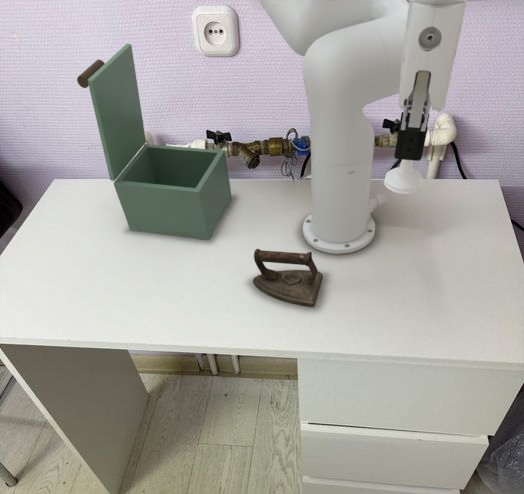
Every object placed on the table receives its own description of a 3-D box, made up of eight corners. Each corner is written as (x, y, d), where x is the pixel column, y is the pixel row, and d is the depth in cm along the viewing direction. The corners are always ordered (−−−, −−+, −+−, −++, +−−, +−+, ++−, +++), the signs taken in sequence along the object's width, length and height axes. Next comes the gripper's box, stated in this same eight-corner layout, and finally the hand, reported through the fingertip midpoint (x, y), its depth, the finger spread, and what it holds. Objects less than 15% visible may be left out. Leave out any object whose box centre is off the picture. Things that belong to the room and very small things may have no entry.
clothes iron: (319, 310, 77) (301, 265, 69) (253, 311, 82) (230, 270, 74) (327, 276, 80) (311, 230, 73) (263, 279, 85) (242, 236, 78)
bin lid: (131, 44, 79) (102, 38, 79) (92, 80, 71) (60, 74, 72) (146, 142, 92) (121, 136, 93) (114, 181, 85) (87, 175, 85)
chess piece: (400, 198, 63) (414, 122, 55) (376, 179, 65) (386, 104, 57) (430, 185, 64) (448, 109, 56) (406, 167, 66) (420, 91, 58)
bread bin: (232, 198, 97) (224, 150, 89) (209, 240, 89) (198, 192, 81) (158, 190, 101) (144, 143, 93) (130, 230, 93) (113, 183, 85)
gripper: (483, 6, 41) (436, 194, 56) (484, -56, 50) (443, 120, 65) (391, 4, 43) (369, 187, 57) (408, -56, 52) (385, 116, 66)
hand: (408, 150), depth 61 cm, fingers closed on chess piece
